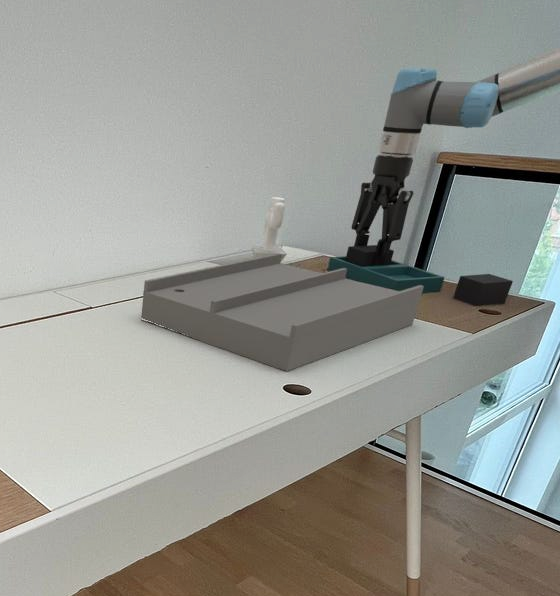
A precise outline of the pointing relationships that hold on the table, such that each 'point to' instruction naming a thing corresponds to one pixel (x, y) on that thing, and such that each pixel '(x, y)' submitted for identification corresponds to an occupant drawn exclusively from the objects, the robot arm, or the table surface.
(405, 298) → the desk organizer
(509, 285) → the pad
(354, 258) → the pad
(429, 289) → the back divided tray
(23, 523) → the table surface
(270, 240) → the figurine
